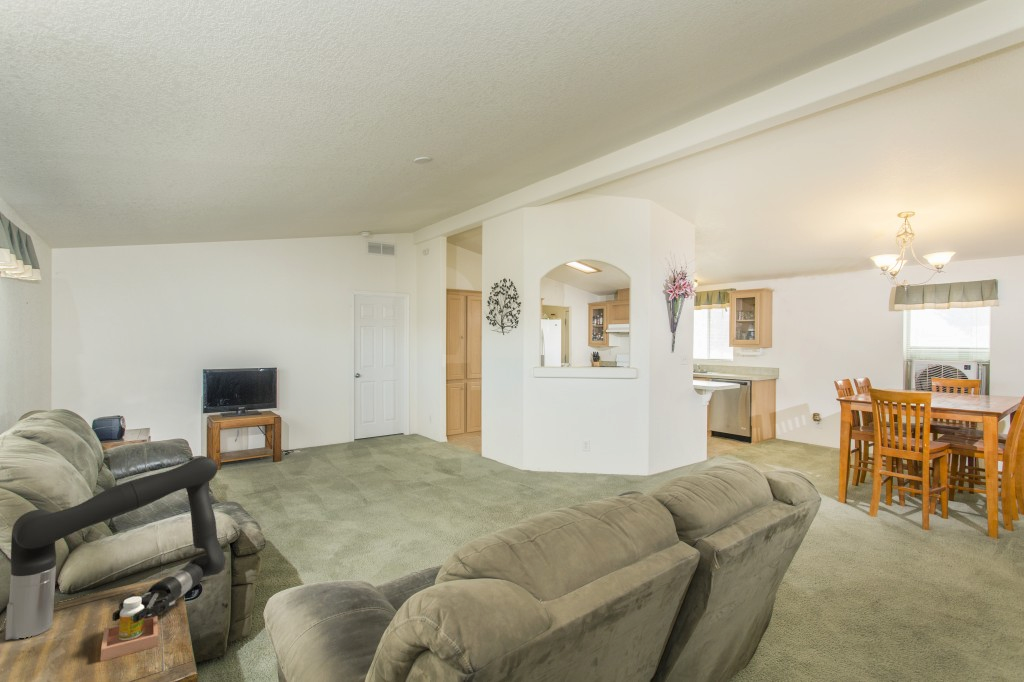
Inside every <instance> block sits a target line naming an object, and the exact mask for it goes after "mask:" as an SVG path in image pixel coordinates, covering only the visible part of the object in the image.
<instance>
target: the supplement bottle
mask: <svg viewBox="0 0 1024 682" xmlns="http://www.w3.org/2000/svg"><path fill="white" fill-rule="evenodd" d="M125 599H126V598H125ZM123 600H124V599H123ZM141 601H142V598H141V597H139V596H136V595H135V597H131V598H128V599H126V600H124V602H123V607H124V608H123V609H122V610H121V611H120V619H119V620H118V621H119V622H118V625H119V639H120V640H131V639H134V638H137V637H138V636H140V635H141V634H142V633H143V627H144V619H145V618H143V619H142V620H140V621H138V622H137V623H136V622H133V616H134V614H136V613H137V612H139V611H140V610H142V609H143V608H144V606H143V605H142V604H141Z"/></svg>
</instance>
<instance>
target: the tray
mask: <svg viewBox="0 0 1024 682" xmlns="http://www.w3.org/2000/svg"><path fill="white" fill-rule="evenodd" d="M158 620H159V619H158V615H153V616H149V617H145V618H144V627H143V633H142V634H141V635H140V636H138V637H137V638H134V639H131V640H120V639H119V624H116V625H112V626H108V627H104V630H103V633H102V634H103V635H102V642H101V649H100V662H104V661H106V660H107V661H108V660H111V659H114V658H119V657H122V656H126V655H130V654H133V653H138V652H141V650H142V651H145V650H149V649H153V648H156V647H158V646H159V645H158V644H159V621H158Z"/></svg>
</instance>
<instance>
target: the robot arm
mask: <svg viewBox="0 0 1024 682" xmlns="http://www.w3.org/2000/svg"><path fill="white" fill-rule="evenodd" d="M218 468H219V467H218V463H217V461H215V459H212V458H210V457H208V456H200V457H195V458H193V459H192V460H190V461H188V462H187V463H184V464H182V465H180V466H177V467H175V468H172V469H170V470H166V471H162V472H158V473H155V474H150V475H146V476H143V477H139V478H136V479H132V480H128V481H126V482H123V483H120V484H117V485H114V486H111V487H109V488H108V489H105V490H103V491H101V492H99V493H98V494H96V495H94V496H91V498H89V499H88V500H85V501H83V502H82V503H79V504H76V505H74V506H71V507H68V508H65V509H61V510H59V511H55V512H51V511H48V510H47V509H34V510H30V511H27V512H25V513H23V514H22V515H20V517H18V518H17V520H15V522H14V523H13V526H12V530H11V540H10V541H11V542H10V543H11V544H10V581H9V582H10V586H9V598H8V599H9V600H8V602H7V606H6V621H5V633H4V634H5V635H4V637H5V639H4V641H9V640H20V639H19V638H24V639H27V638H26V637H28V638H31V636H32V637H34V636H37V635H40V634H42V633H45V632H46V631H48V630H49V629H51V627H52V626H53V623H54V622H53V620H54V608H55V607H54V605H55V604H54V603H55V591H56V590H55V589H56V588H55V586H56V573H57V572H56V569H57V552H56V542H57V541H59V540H62V539H63V538H65V537H67V536H70V535H72V534H74V533H76V532H78V531H81V530H83V529H85V528H88V527H91V526H94V525H97V524H100V523H103V522H106V521H108V520H111V519H113V518H116V517H120V516H122V515H123V516H124V515H126V514H128V513H130V512H133V511H136V510H138V509H141V508H143V507H145V506H148V505H150V504H153V503H154V502H156V501H158V500H159V501H160V500H161V499H163V498H165V497H167V496H169V495H170V494H173V493H175V492H178V491H181V490H184V489H185V490H186V493H187V497H188V504H189V509H190V511H189V512H190V519H191V520H190V521H191V532H192V533H191V534H192V544H193V547H194V549H202V550H204V551H205V554H201V555H198V556H196V557H194V558H192V559H190V561H188V563H187V564H186V565H185V566H184V567H182V568H181V569H179V570H177V571H175V572H173V573H170V574H168V575H167V576H165V577H164V578H162V579H161V580H159V581H157V582H156V583H154V584H153V585H151V586H150V588H149V590H147V592H145V593H143V594H140V596H139V597H141V598H142V601H141V604H142V605H143V606H144V608H143V609H142V610H140V611H139V612H137V613H136V614H134V616H133V622H136V623H137V622H138V621H140V620H142V619H143V618H144V619H146V618H147V617H151V616H152V615H153V616H158V615H160V614H162V613H165V612H166V611H167V610H170V609H171V608H174V607H175V606H176V601H177V600H178V599H180V598H181V597H182V596H184V595H185V594H187V592H189V591H190V590H191V589H193V588H194V587H196V586H198V584H200V583H201V581H202V580H203V578H206V577H210V576H215V575H219V574H220V573H222V572H223V571H224V568H225V566H226V555H225V552H224V551H223V549H222V545H221V543H220V541H219V539H218V532H217V531H218V530H217V521H216V516H215V512H214V508H213V507H212V503H211V499H210V489H209V487H210V482H211V480H213V479H214V478H215V476H216V475H217V473H218V470H219V469H218ZM131 597H136V594H135V593H132V594H130V595H128V596H127V597H125V598H124V599H123V600H121V601H120V602H119V603H118V610H115V611H114V612H113V613H112V617H111V618H112V619H111V620H112V621H113V622H116V621H119V620H120V611H121V610H122V609H123V608H124V607H123V602H124V600H126V599H128V598H131Z"/></svg>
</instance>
